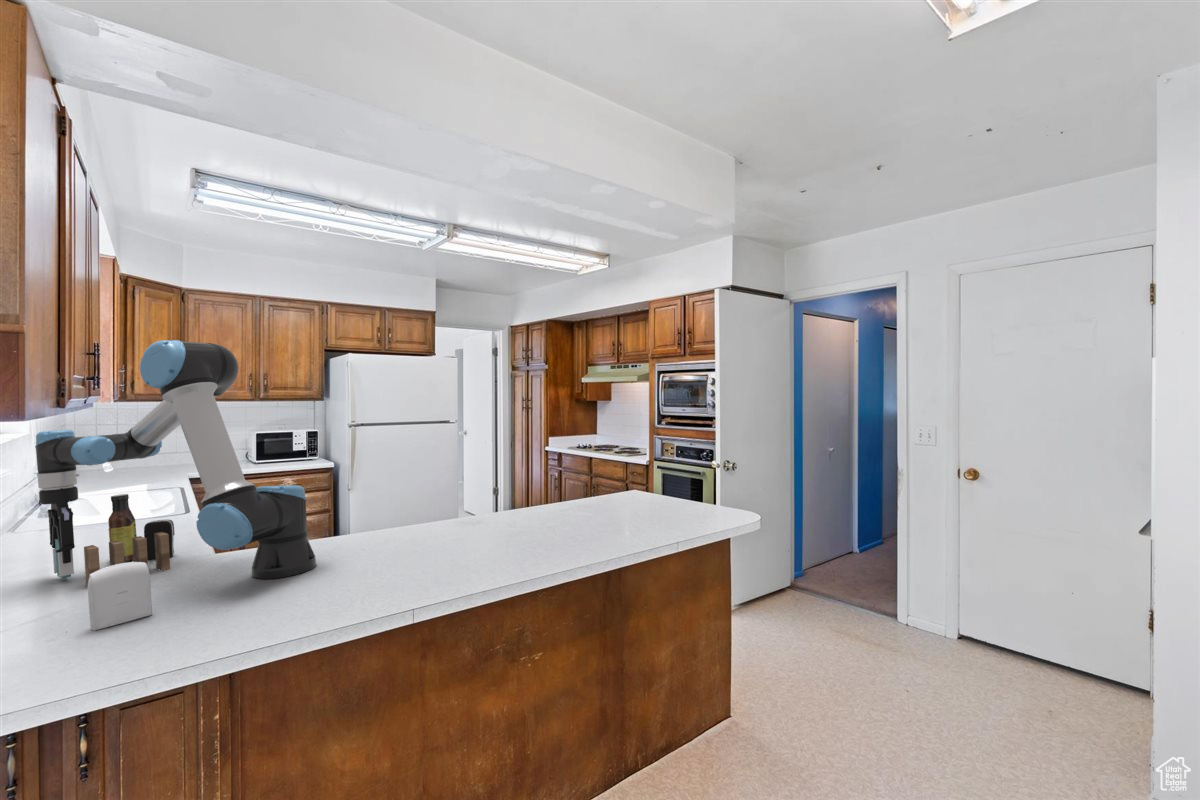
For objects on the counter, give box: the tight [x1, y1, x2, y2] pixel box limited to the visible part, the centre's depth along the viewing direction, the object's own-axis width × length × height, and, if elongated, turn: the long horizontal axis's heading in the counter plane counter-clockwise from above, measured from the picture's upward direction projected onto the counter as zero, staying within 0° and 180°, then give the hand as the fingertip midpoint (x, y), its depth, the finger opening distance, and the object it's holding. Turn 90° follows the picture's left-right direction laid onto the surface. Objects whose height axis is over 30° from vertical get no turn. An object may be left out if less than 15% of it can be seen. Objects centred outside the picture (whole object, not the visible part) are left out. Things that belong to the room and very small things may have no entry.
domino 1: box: [54, 539, 72, 579], centre depth 152 cm, size 5×2×10 cm, turn 55°
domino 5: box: [154, 532, 171, 572], centre depth 158 cm, size 5×2×10 cm, turn 55°
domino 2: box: [83, 544, 101, 586], centre depth 146 cm, size 5×2×10 cm, turn 55°
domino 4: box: [132, 535, 149, 568], centre depth 154 cm, size 5×2×10 cm, turn 55°
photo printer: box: [87, 561, 153, 631], centre depth 120 cm, size 10×4×12 cm, turn 140°
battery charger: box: [143, 519, 176, 561], centre depth 170 cm, size 7×4×11 cm, turn 113°
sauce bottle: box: [107, 493, 138, 563], centre depth 169 cm, size 7×6×20 cm
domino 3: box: [108, 541, 125, 566], centre depth 150 cm, size 5×2×10 cm, turn 55°
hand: (63, 573), depth 152 cm, fingers closed on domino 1, 5 cm apart
